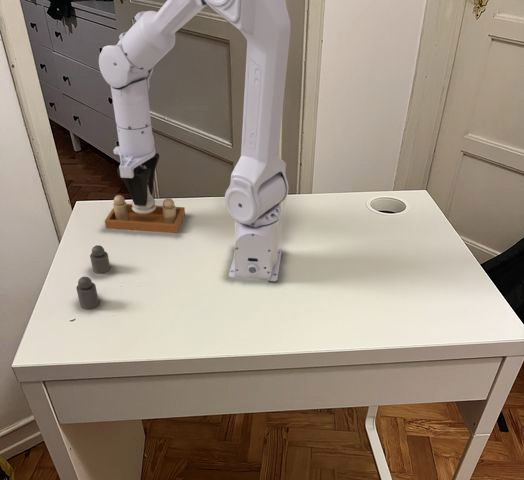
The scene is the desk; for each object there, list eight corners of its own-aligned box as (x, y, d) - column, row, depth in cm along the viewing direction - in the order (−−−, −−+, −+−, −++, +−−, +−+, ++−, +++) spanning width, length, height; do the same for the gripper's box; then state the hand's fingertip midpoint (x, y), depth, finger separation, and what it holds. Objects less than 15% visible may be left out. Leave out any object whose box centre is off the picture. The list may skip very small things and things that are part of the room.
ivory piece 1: (126, 223, 105) (123, 198, 102) (114, 222, 105) (110, 198, 102) (130, 216, 107) (126, 193, 104) (118, 216, 107) (114, 192, 104)
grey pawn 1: (95, 310, 86) (89, 283, 82) (77, 308, 86) (71, 282, 83) (101, 299, 88) (96, 273, 84) (84, 298, 88) (78, 271, 85)
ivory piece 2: (175, 226, 105) (173, 202, 101) (162, 225, 105) (160, 201, 102) (178, 220, 106) (176, 196, 103) (165, 219, 106) (163, 195, 103)
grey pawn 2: (107, 276, 92) (102, 251, 89) (91, 275, 93) (85, 250, 89) (113, 267, 94) (108, 242, 91) (96, 266, 95) (91, 241, 92)
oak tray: (177, 235, 103) (176, 225, 102) (106, 230, 104) (104, 220, 103) (185, 216, 108) (184, 207, 107) (118, 212, 109) (116, 202, 108)
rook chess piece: (160, 212, 104) (155, 170, 98) (136, 217, 102) (130, 174, 97) (152, 202, 107) (147, 160, 101) (129, 207, 105) (122, 165, 100)
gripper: (123, 108, 100) (133, 181, 109) (96, 138, 89) (109, 216, 98) (162, 110, 99) (169, 183, 108) (140, 140, 88) (149, 219, 97)
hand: (143, 199), depth 103 cm, fingers closed on rook chess piece, 3 cm apart
